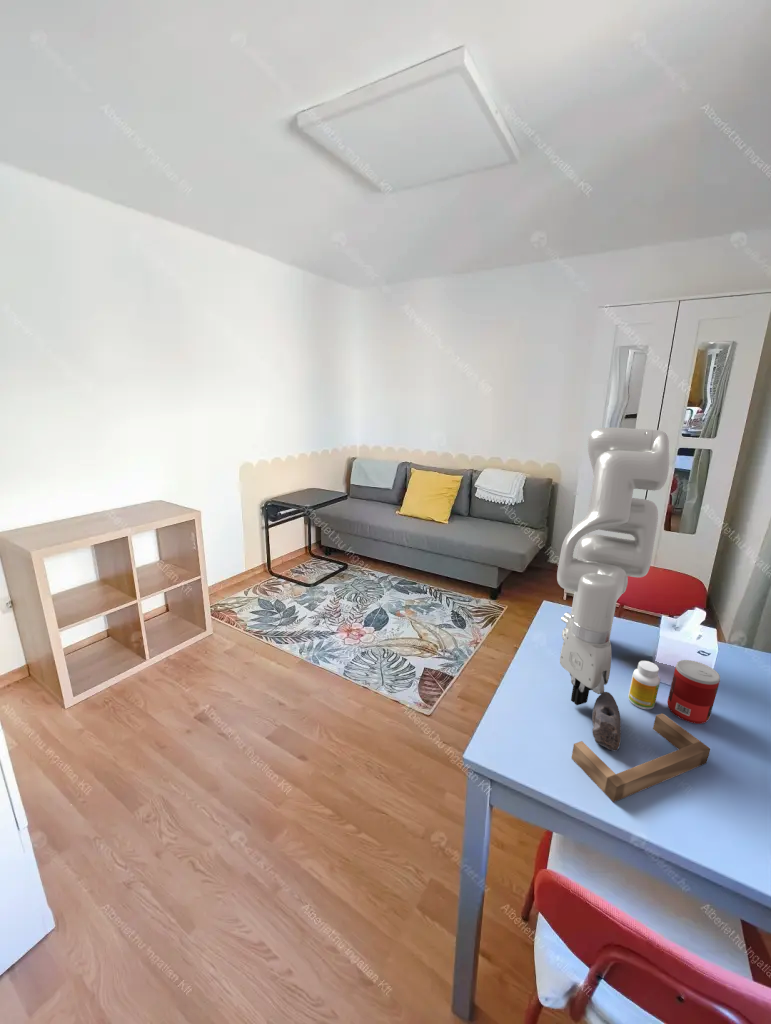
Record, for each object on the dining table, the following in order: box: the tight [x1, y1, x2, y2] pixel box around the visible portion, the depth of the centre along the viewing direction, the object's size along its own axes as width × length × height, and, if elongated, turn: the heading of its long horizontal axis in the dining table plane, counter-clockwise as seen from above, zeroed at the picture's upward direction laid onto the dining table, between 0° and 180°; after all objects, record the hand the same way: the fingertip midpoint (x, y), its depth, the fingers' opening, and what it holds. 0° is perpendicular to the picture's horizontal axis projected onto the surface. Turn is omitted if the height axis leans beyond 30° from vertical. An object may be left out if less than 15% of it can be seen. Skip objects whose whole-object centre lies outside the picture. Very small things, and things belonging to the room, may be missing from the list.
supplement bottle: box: [627, 660, 661, 710], centre depth 100 cm, size 5×5×10 cm
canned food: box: [667, 659, 721, 725], centre depth 96 cm, size 8×8×11 cm
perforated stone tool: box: [591, 691, 622, 752], centre depth 92 cm, size 15×5×7 cm, turn 154°
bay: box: [571, 712, 711, 803], centre depth 85 cm, size 10×24×4 cm, turn 111°
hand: (578, 701), depth 99 cm, fingers closed
